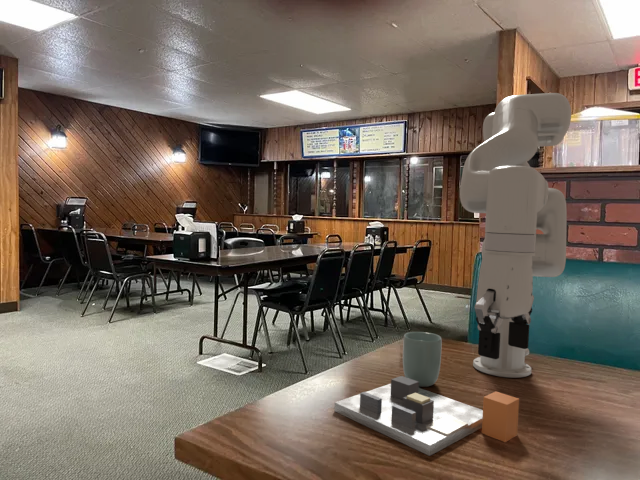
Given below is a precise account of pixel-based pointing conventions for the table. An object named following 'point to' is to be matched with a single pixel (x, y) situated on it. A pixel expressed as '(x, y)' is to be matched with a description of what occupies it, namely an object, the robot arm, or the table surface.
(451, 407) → the panel
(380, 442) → the table surface
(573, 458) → the table surface
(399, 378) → the toggle
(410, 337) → the cup
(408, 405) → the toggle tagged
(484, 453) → the table surface
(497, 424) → the cap
